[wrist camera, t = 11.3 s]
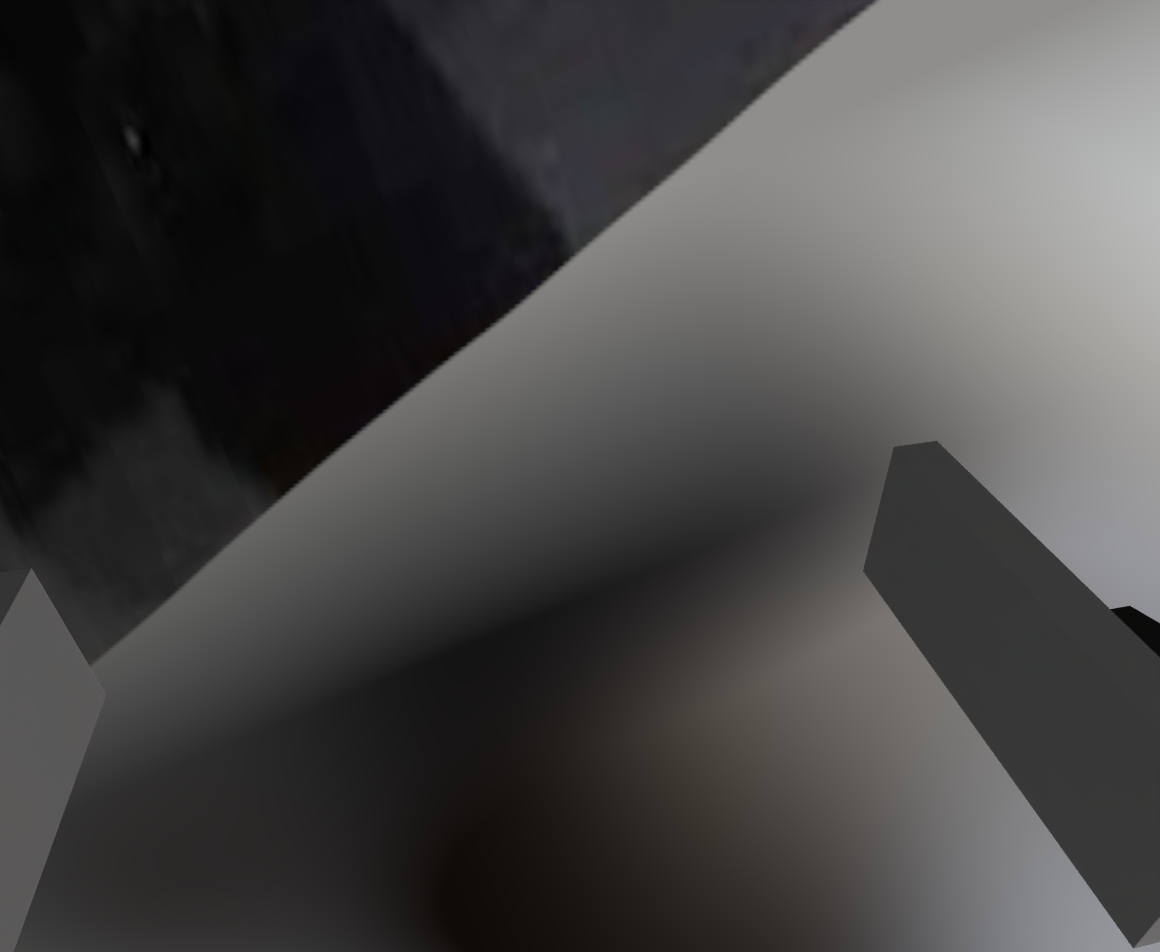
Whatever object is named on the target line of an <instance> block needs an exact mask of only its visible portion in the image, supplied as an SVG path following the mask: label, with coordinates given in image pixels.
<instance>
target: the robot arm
mask: <svg viewBox="0 0 1160 952" xmlns="http://www.w3.org/2000/svg"><path fill="white" fill-rule="evenodd" d="M863 571H864V573H865V574H866V576H867V577H868V578H869V580H870V581H871V583H872V584H873V585H874V587H875V588H876V590H877V591H878V592H879V594H880V595H881V597H882V598H883V599H884V601H885V602H886V604H887V605H888V606H889V608H890V609H891V611H892V612H893V613H894V615H895V616H896V618H897V619H898V620H899V622H900V623H901V625H902V626H903V627H904V629H905V630H906V632H907V633H908V634H909V636H910V637H911V638H912V640H913V641H914V643H915V644H916V645H917V647H918V648H919V650H920V651H921V652H922V654H923V655H924V657H925V658H926V659H927V661H928V662H929V664H930V665H931V666H932V668H933V669H934V671H935V672H936V673H937V675H938V676H939V678H940V679H941V680H942V682H943V683H944V685H945V686H946V687H947V689H948V690H949V692H950V693H951V694H952V696H953V697H954V699H955V700H956V701H957V703H958V704H959V705H960V707H961V708H962V710H963V711H964V712H965V714H966V715H967V717H968V718H969V719H970V721H971V722H972V724H973V725H974V726H975V728H976V729H977V731H978V732H979V733H980V735H981V736H982V738H983V739H984V740H985V742H986V743H987V745H988V746H989V747H990V749H991V750H992V751H993V753H994V754H995V756H996V757H997V759H998V760H999V761H1000V763H1001V764H1002V766H1003V767H1004V768H1005V770H1006V771H1007V773H1008V774H1009V775H1010V777H1011V778H1012V780H1013V781H1014V782H1015V784H1016V785H1017V787H1018V788H1019V789H1020V791H1021V792H1022V794H1023V795H1024V796H1025V798H1026V799H1027V800H1028V802H1029V803H1030V805H1031V806H1032V807H1033V809H1034V810H1035V812H1036V813H1037V814H1038V816H1039V817H1040V819H1041V820H1042V821H1043V823H1044V824H1045V826H1046V827H1047V828H1048V829H1049V831H1050V833H1051V834H1052V835H1053V837H1054V838H1055V840H1056V841H1057V842H1058V844H1059V845H1060V847H1061V848H1062V849H1063V851H1064V852H1065V854H1066V855H1067V856H1068V857H1069V859H1070V861H1071V862H1072V863H1073V865H1074V866H1075V868H1076V869H1077V870H1078V871H1079V873H1080V874H1081V876H1082V877H1083V879H1084V880H1085V881H1086V883H1087V884H1088V886H1089V887H1090V888H1091V890H1092V891H1093V893H1094V894H1095V895H1096V897H1097V898H1098V900H1099V901H1100V902H1101V904H1102V905H1103V907H1104V908H1105V909H1106V911H1107V912H1108V914H1109V915H1110V916H1111V918H1112V919H1113V921H1114V922H1115V923H1116V925H1117V926H1118V927H1119V929H1120V930H1121V932H1122V933H1123V935H1124V936H1125V937H1126V938H1127V940H1128V942H1129V943H1130V944H1131V945H1132V947H1133V948H1137V947H1141V946H1145V945H1149V944H1153V943H1156V942H1160V623H1158V622H1157V621H1155V620H1153V619H1152V618H1150V617H1148V616H1146V615H1145V614H1143V613H1141V612H1139V611H1138V610H1136V609H1134V608H1133V607H1131V606H1127V607H1121V608H1115V609H1109V608H1108V607H1107V606H1106V605H1105V604H1104V603H1103V602H1102V601H1101V600H1100V599H1099V598H1098V597H1097V596H1096V595H1095V594H1094V593H1093V592H1092V591H1091V590H1090V589H1089V588H1088V587H1086V586H1085V584H1083V583H1082V582H1081V581H1080V580H1079V579H1078V578H1077V577H1076V576H1075V575H1074V574H1073V573H1072V572H1071V571H1070V570H1069V569H1068V568H1067V567H1066V566H1065V565H1064V564H1063V563H1062V562H1061V561H1060V560H1059V559H1058V558H1057V557H1056V556H1055V555H1054V554H1053V553H1051V552H1050V550H1048V549H1047V548H1046V547H1045V546H1044V545H1043V544H1042V543H1041V542H1040V541H1039V540H1038V539H1037V538H1036V537H1035V536H1034V535H1033V534H1032V533H1031V532H1030V531H1029V530H1028V529H1027V528H1026V527H1025V526H1024V525H1023V524H1022V523H1021V522H1020V521H1019V520H1018V519H1017V518H1015V516H1013V515H1012V514H1011V513H1010V512H1009V511H1008V510H1007V509H1006V508H1005V507H1004V506H1003V505H1002V504H1001V503H1000V502H999V501H998V500H997V499H996V498H995V497H994V496H993V495H992V494H991V493H990V492H989V491H988V490H987V489H986V488H985V487H984V486H983V485H982V484H980V482H978V481H977V480H976V479H975V478H974V477H973V476H972V475H971V474H970V473H969V472H968V471H967V470H966V469H965V468H964V467H963V466H962V465H961V464H960V463H959V462H958V461H957V460H956V459H955V458H954V457H953V456H952V455H951V454H950V453H949V452H947V450H946V449H944V448H943V447H942V446H941V445H940V444H939V443H938V442H937V441H933V442H926V443H919V444H912V445H905V446H898V447H894V449H893V453H892V457H891V461H890V465H889V470H888V473H887V477H886V481H885V485H884V489H883V493H882V497H881V501H880V505H879V509H878V513H877V517H876V522H875V525H874V530H873V533H872V537H871V542H870V545H869V549H868V554H867V557H866V561H865V566H864V570H863ZM105 696H106V694H105V692H104V690H103V689H102V687H101V686H100V684H99V682H98V680H97V678H96V677H95V675H94V673H93V672H92V670H91V668H90V667H89V665H88V663H87V661H86V660H85V658H84V656H83V655H82V653H81V651H80V650H79V648H78V646H77V644H76V643H75V641H74V639H73V638H72V636H71V634H70V633H69V631H68V629H67V627H66V626H65V624H64V622H63V621H62V619H61V617H60V616H59V614H58V612H57V611H56V609H55V607H54V605H53V604H52V602H51V600H50V599H49V597H48V595H47V594H46V592H45V590H44V588H43V587H42V585H41V583H40V582H39V580H38V578H37V577H36V575H35V573H34V572H33V570H32V568H29V569H22V570H15V571H8V572H1V573H0V952H13V951H14V948H15V946H16V943H17V940H18V937H19V934H20V932H21V929H22V926H23V924H24V921H25V918H26V915H27V912H28V909H29V907H30V904H31V901H32V899H33V895H34V893H35V890H36V887H37V885H38V882H39V879H40V876H41V873H42V871H43V868H44V865H45V863H46V860H47V857H48V854H49V851H50V848H51V846H52V843H53V840H54V838H55V835H56V832H57V829H58V827H59V824H60V821H61V818H62V815H63V813H64V810H65V807H66V804H67V801H68V799H69V796H70V793H71V790H72V788H73V785H74V782H75V779H76V776H77V774H78V771H79V768H80V765H81V762H82V760H83V757H84V754H85V752H86V749H87V746H88V743H89V741H90V738H91V735H92V732H93V729H94V727H95V724H96V721H97V718H98V715H99V713H100V710H101V707H102V704H103V702H104V699H105Z"/></svg>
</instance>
